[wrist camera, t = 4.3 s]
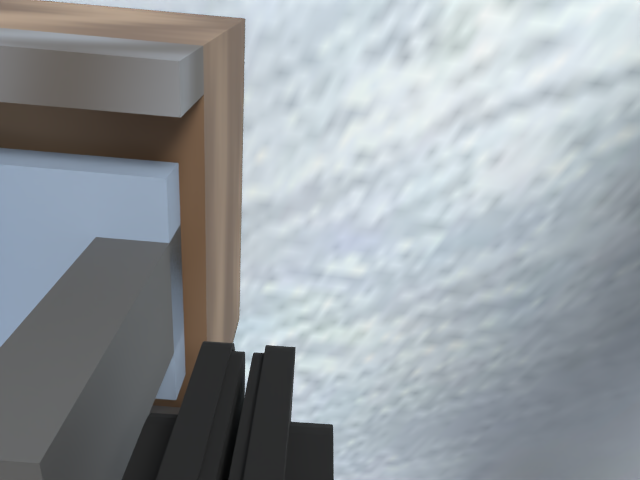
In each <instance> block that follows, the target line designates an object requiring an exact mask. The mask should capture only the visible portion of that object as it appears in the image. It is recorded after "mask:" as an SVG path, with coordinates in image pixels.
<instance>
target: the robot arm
mask: <svg viewBox="0 0 640 480" xmlns="http://www.w3.org/2000/svg"><path fill="white" fill-rule="evenodd" d="M294 364H295V347H284V346H269V345H266V347H265V353H253V357H252V362H251V367H250V372H249V377H248V382H247V388H246V393H245V352H238V351H235V347H234V343H224V342H209V341H204V342H203V343H202V345H201V348H200V351H199V354H198V356H197V359H196V362H195V365H194V368H193V371H192V374H191V377H190V380H189V383H188V386H187V389H186V392H185V395H184V398H183V401H182V404H181V407H180V410H179V413H178V415H176V414H161V413H150V415H149V416H148V417H147V419H146V421H145V423H144V425H143V428H142V430H141V433H140V435H139V438H138V440H137V443H136V445H135V448H134V450H133V453H132V455H131V457H130V460H129V462H128V465H127V467H126V470H125V472H124V475H123V477H122V480H334V478H333V425H330V424H315V423H299V422H291V411H292V395H293V379H294ZM244 396H245V398H244Z"/></svg>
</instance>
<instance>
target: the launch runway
mask: <svg viewBox="0 0 640 480" xmlns="http://www.w3.org/2000/svg"><path fill="white" fill-rule="evenodd" d="M244 50H245V19H243V18H232V17H221V16H209V15H198V14H187V13H176V12H164V11H153V10H142V9H131V8H119V7H108V6H97V5H86V4H74V3H63V2H52V1H41V0H0V148H9V149H21V150H33V151H44V152H56V153H68V154H79V155H91V156H103V157H115V158H126V159H138V160H150V161H161V162H173V163H178V164H179V194H180V224H181V253H182V283H183V312H184V342H185V371H186V374H185V377H184V380H183V383H182V386H181V388H180V391H179V394H178V397H177V399H176V400H168V399H155V400H154V403H153V405H152V408H151V410H150V413H161V414H176V415H178V413H179V410H180V407H181V404H182V401H183V398H184V395H185V392H186V389H187V386H188V383H189V380H190V377H191V374H192V371H193V368H194V365H195V362H196V359H197V356H198V354H199V351H200V348H201V345H202V343H203V342H204V341H209V342H224V343H233V340H234V337H235V333H236V329H237V325H238V322H239V306H240V255H241V204H242V153H243V102H244ZM150 413H149V415H150ZM149 415H148V416H149Z"/></svg>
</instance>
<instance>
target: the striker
mask: <svg viewBox="0 0 640 480" xmlns="http://www.w3.org/2000/svg"><path fill="white" fill-rule="evenodd" d="M185 374H186V371H185V342H184V312H183V283H182V253H181V224H180V194H179V164H178V163H173V162H161V161H150V160H138V159H126V158H115V157H103V156H91V155H79V154H68V153H56V152H44V151H33V150H21V149H9V148H0V480H122V477H123V475H124V472H125V470H126V467H127V465H128V462H129V460H130V457H131V455H132V453H133V450H134V448H135V445H136V443H137V440H138V438H139V435H140V433H141V430H142V428H143V425H144V423H145V421H146V419H147V417H148V415H149V413H150V410H151V408H152V405H153V403H154V400H155V399H168V400H176V399H177V397H178V394H179V391H180V388H181V386H182V383H183V380H184V377H185Z"/></svg>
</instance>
